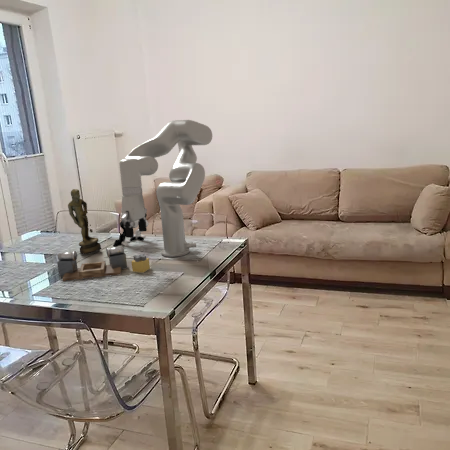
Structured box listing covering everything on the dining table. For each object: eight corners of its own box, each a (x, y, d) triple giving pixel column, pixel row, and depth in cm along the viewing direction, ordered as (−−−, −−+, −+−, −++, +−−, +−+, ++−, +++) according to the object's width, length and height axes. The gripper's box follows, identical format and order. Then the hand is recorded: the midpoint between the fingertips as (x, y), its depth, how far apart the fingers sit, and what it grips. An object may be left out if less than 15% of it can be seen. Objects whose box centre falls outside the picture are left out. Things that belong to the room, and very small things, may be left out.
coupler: (139, 267, 192) (137, 253, 190) (149, 268, 190) (148, 254, 189) (132, 271, 187) (130, 257, 186) (143, 272, 186) (142, 258, 184)
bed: (121, 265, 196) (121, 259, 195) (120, 274, 185) (119, 267, 184) (66, 271, 192) (65, 265, 192) (62, 281, 182) (61, 274, 181)
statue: (96, 256, 211) (87, 190, 203) (73, 256, 213) (64, 190, 206) (106, 249, 221) (98, 185, 213) (85, 249, 223) (76, 186, 216)
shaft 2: (124, 265, 196) (122, 243, 194) (127, 268, 192) (124, 246, 190) (108, 268, 193) (105, 246, 191) (110, 271, 189) (107, 249, 187)
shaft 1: (59, 275, 188) (55, 253, 186) (63, 272, 192) (60, 250, 190) (75, 275, 187) (72, 253, 185) (79, 271, 191) (76, 249, 189)
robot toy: (139, 235, 241) (135, 197, 236) (157, 240, 232) (153, 200, 226) (107, 245, 227) (102, 204, 222) (125, 250, 218) (121, 207, 213)
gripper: (135, 187, 190) (139, 228, 194) (111, 195, 174) (116, 239, 178) (151, 187, 187) (155, 229, 191) (128, 195, 172) (133, 240, 176)
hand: (136, 234), depth 185 cm, fingers open, 9 cm apart
